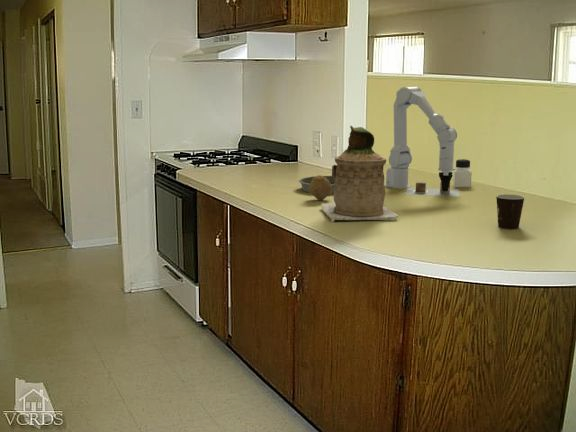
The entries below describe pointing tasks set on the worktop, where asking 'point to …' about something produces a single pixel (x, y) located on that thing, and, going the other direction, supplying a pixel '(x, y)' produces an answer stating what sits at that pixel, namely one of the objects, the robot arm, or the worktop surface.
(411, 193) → the grey flat slab
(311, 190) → the natural sponge
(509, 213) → the coffee mug
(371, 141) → the cookie jar
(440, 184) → the maple block
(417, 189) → the walnut block
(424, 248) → the worktop surface
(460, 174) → the medicine bottle
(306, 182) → the cake pan
